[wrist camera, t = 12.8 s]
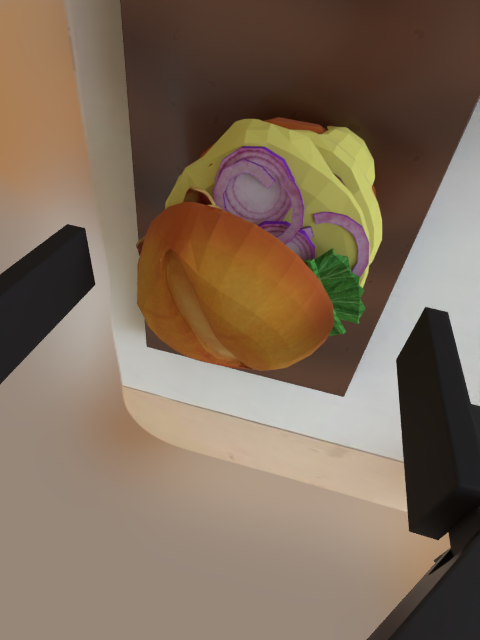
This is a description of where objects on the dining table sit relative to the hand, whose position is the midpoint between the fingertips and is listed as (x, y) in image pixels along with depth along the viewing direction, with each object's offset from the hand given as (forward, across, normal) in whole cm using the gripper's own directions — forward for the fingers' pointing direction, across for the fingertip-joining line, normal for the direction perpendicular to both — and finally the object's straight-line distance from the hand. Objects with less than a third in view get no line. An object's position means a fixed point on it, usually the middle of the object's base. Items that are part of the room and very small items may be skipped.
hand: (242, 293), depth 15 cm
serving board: (+9, 0, 0) cm, 9 cm away
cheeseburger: (+7, 0, 0) cm, 7 cm away
